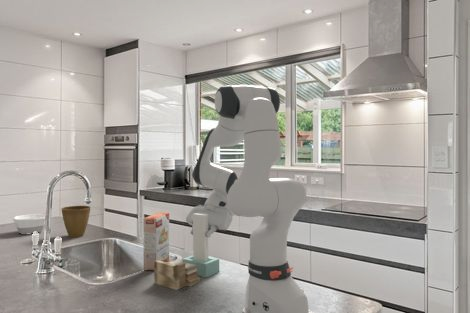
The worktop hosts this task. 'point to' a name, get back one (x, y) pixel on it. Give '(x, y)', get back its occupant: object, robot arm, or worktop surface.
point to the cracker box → (156, 239)
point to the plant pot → (76, 219)
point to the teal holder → (204, 266)
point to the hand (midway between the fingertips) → (199, 235)
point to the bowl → (30, 223)
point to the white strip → (200, 237)
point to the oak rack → (169, 274)
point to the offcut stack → (189, 272)
